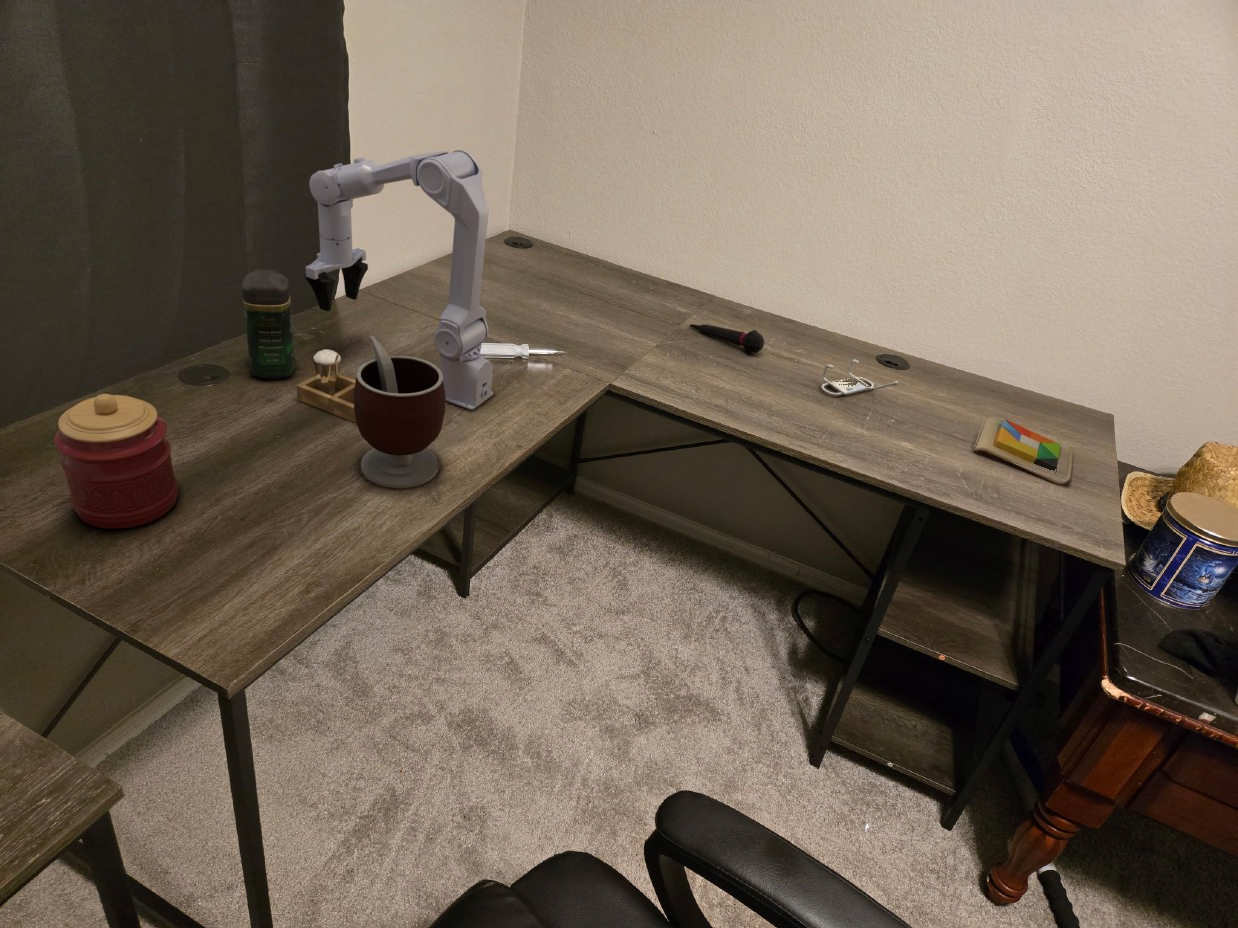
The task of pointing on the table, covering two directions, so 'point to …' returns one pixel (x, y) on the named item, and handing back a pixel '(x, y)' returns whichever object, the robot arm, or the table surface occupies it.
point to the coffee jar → (268, 324)
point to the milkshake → (327, 371)
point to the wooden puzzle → (1021, 446)
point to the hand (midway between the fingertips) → (338, 303)
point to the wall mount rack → (851, 389)
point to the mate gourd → (399, 417)
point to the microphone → (734, 337)
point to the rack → (330, 397)
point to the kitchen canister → (116, 461)
